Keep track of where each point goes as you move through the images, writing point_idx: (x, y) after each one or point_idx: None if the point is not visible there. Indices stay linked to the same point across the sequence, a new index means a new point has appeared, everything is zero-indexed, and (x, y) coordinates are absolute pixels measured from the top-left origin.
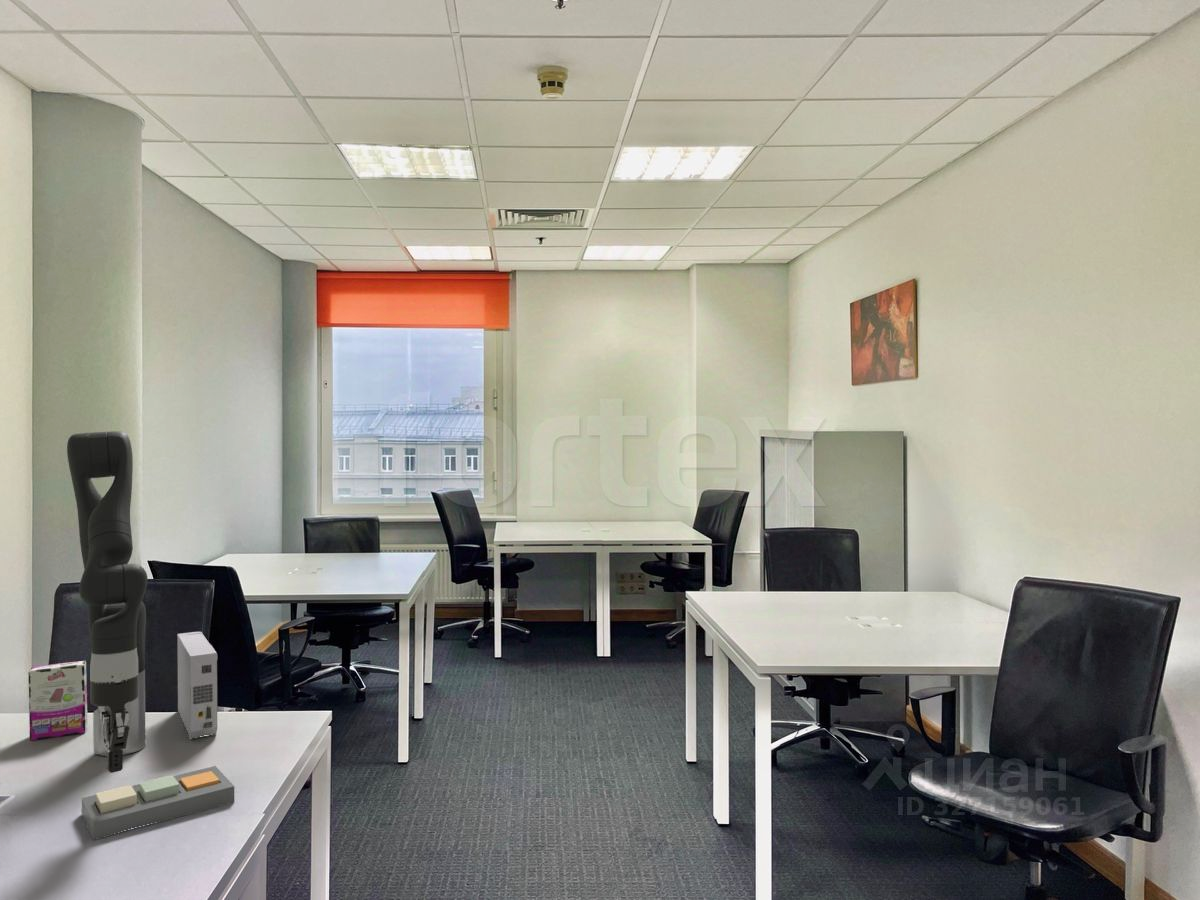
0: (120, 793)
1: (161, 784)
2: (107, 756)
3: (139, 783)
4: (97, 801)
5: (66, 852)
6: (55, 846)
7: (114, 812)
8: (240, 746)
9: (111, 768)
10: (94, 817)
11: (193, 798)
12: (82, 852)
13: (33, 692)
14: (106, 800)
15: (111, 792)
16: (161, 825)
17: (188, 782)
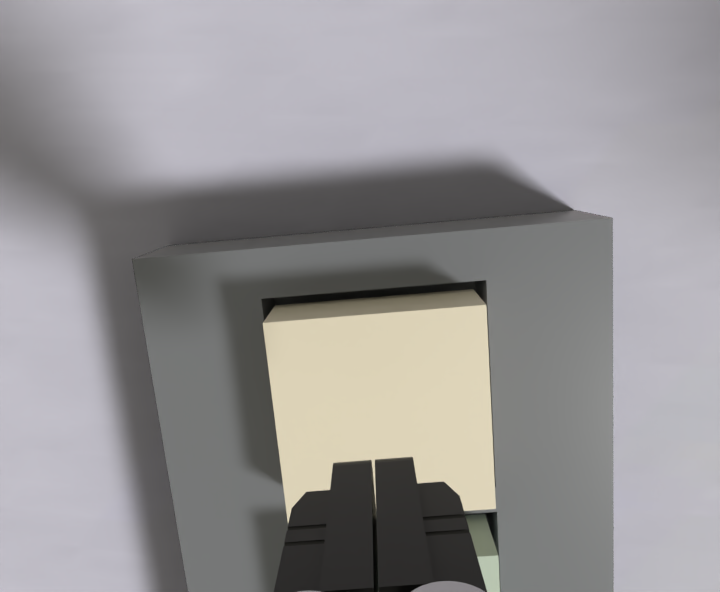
0: (371, 441)
1: None
2: (408, 536)
3: (487, 555)
4: (409, 303)
5: (87, 119)
6: (198, 69)
7: (226, 374)
8: None
9: (316, 498)
10: (213, 270)
11: None
12: (44, 190)
13: None
14: (295, 357)
15: (431, 394)
16: (170, 530)
17: None
